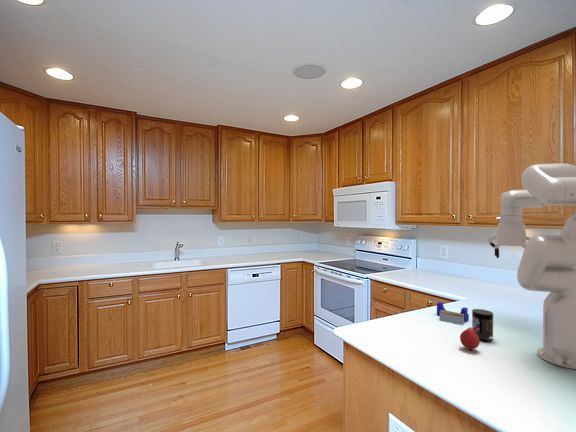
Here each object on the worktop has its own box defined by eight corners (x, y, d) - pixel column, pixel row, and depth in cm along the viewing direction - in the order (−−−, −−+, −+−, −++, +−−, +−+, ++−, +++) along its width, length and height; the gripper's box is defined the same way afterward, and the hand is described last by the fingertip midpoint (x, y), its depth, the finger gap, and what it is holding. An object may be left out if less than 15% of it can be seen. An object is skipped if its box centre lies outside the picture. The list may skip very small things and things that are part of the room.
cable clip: (468, 320, 129) (468, 307, 129) (465, 323, 126) (465, 309, 126) (440, 313, 138) (440, 301, 138) (436, 315, 135) (436, 303, 135)
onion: (472, 355, 96) (472, 331, 96) (456, 348, 102) (456, 325, 102) (483, 352, 99) (483, 329, 99) (467, 345, 104) (467, 323, 104)
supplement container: (476, 333, 114) (476, 307, 114) (496, 340, 108) (496, 312, 108) (468, 338, 110) (468, 311, 110) (488, 344, 105) (489, 316, 105)
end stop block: (462, 325, 123) (462, 315, 123) (439, 320, 129) (439, 311, 129) (464, 323, 125) (464, 314, 125) (441, 318, 131) (441, 309, 131)
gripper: (486, 219, 129) (486, 257, 129) (537, 220, 117) (537, 262, 117) (488, 219, 134) (488, 256, 134) (537, 220, 123) (537, 259, 123)
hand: (511, 258), depth 126 cm, fingers open, 9 cm apart
